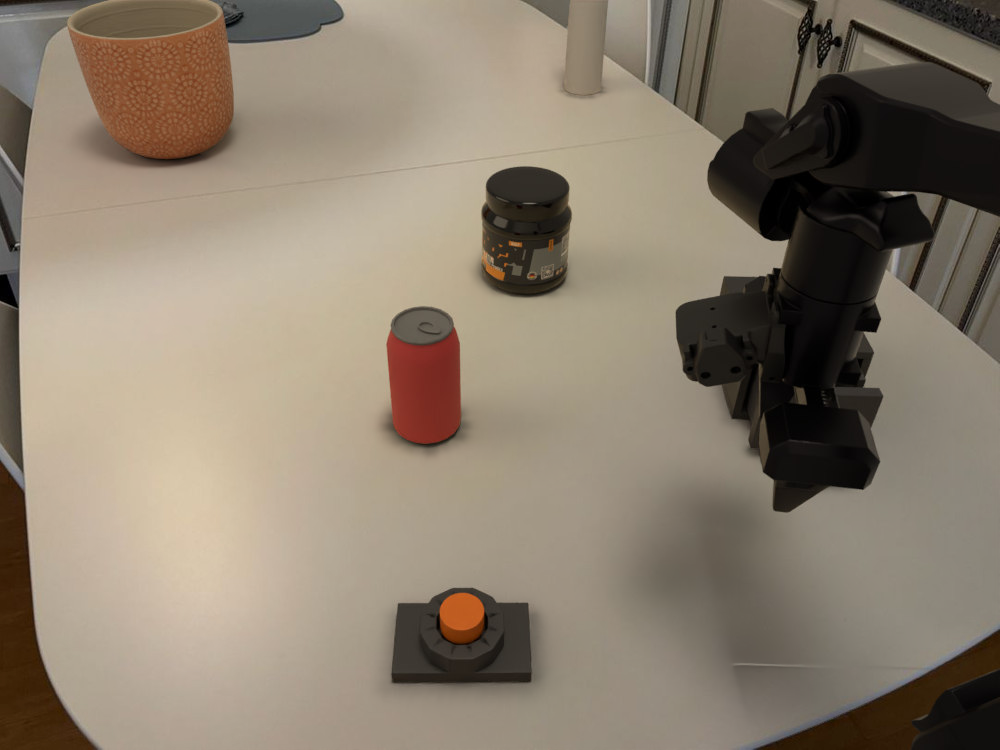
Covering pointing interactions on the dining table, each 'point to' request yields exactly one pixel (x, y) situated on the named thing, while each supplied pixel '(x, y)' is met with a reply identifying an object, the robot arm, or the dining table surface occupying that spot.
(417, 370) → the beer can
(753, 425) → the drawer
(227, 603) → the dining table surface
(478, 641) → the control block
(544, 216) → the supplement container
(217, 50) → the planter
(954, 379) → the dining table surface
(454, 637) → the button
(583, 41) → the bottle
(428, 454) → the dining table surface
